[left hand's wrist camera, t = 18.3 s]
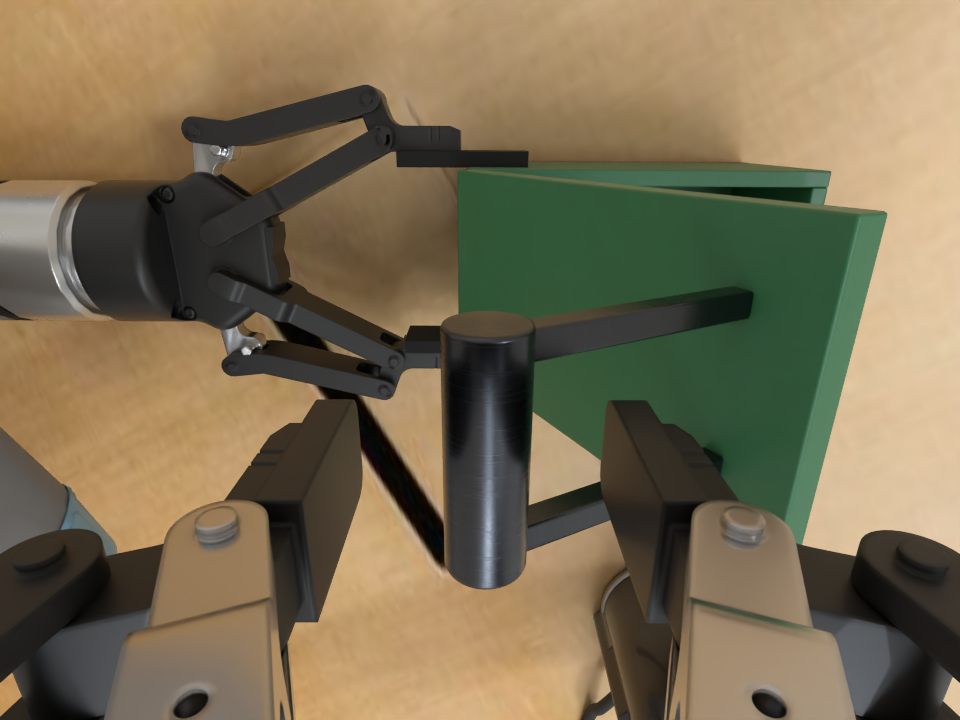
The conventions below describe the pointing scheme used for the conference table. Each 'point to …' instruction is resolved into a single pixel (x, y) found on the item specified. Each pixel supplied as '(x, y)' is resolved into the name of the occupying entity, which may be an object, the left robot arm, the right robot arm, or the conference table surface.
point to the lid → (639, 344)
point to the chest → (692, 177)
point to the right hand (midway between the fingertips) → (522, 254)
